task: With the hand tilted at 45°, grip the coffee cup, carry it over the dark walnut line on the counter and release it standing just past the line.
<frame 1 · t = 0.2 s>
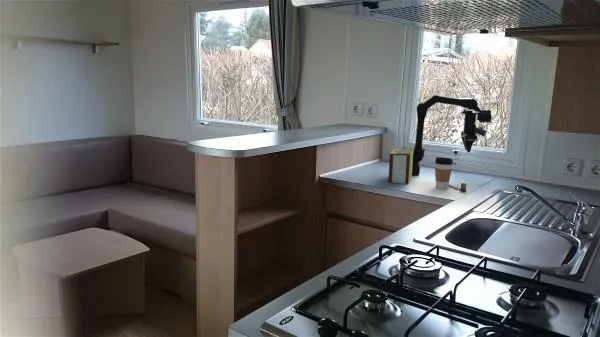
hand: (467, 151, 250), 15 cm above the worktop, tool pointing down, fingers open, 9 cm apart
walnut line: (452, 187, 229), on the worktop
coffee cup: (441, 188, 227), on the worktop
protein box: (400, 181, 243), on the worktop
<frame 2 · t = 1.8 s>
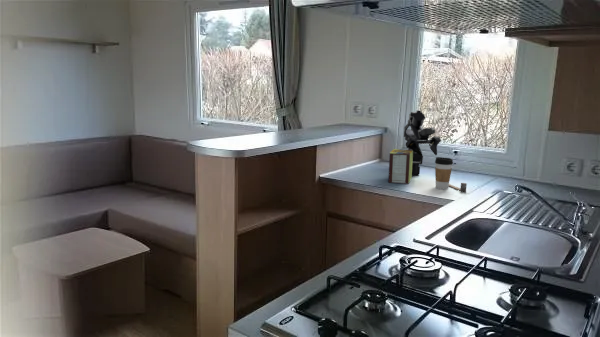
hand: (429, 155, 240), 14 cm above the worktop, tool tilted 45°, fingers open, 9 cm apart
protein box: (400, 180, 243), on the worktop, touching gripper
everything else where it was.
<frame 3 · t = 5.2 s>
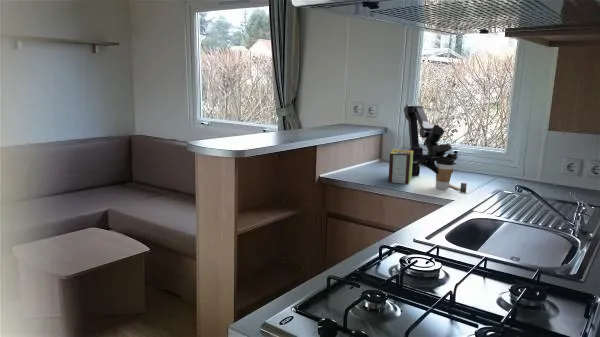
hand: (444, 173, 224), 8 cm above the worktop, tool tilted 45°, fingers closed on coffee cup, 8 cm apart
coffee cup: (441, 188, 227), on the worktop, touching gripper
protein box: (400, 181, 243), on the worktop
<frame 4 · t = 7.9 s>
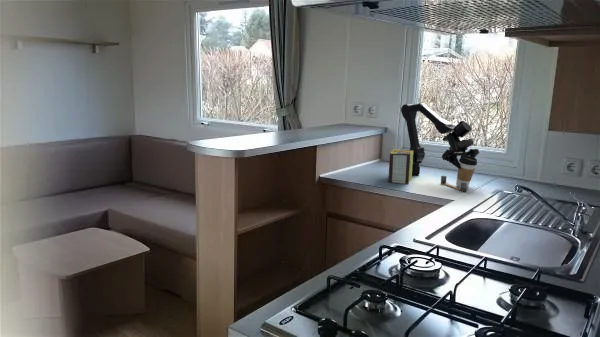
hand: (467, 168, 227), 10 cm above the worktop, tool tilted 45°, fingers closed on coffee cup, 8 cm apart
coffee cup: (462, 185, 231), on the worktop, touching gripper
everything else where it was.
when the fingers open (9 cm above the worktop, at t = 8.6 s): coffee cup stays where it is, on the worktop.
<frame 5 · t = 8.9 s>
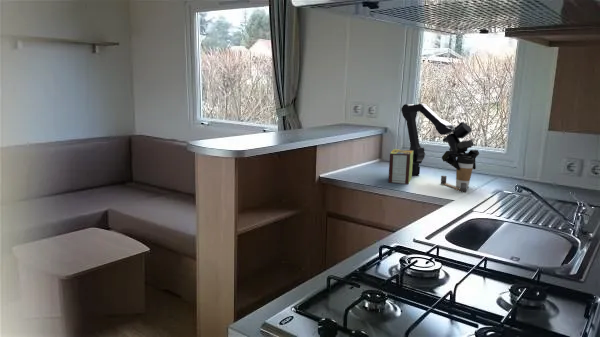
hand: (467, 169, 227), 9 cm above the worktop, tool tilted 45°, fingers open, 9 cm apart
coffee cup: (462, 186, 231), on the worktop, touching gripper
everything else where it was.
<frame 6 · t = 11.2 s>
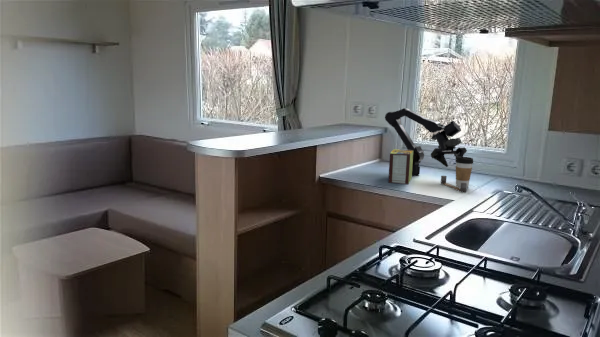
hand: (454, 166, 236), 9 cm above the worktop, tool tilted 45°, fingers open, 9 cm apart
coffee cup: (462, 187, 231), on the worktop
everything else where it was.
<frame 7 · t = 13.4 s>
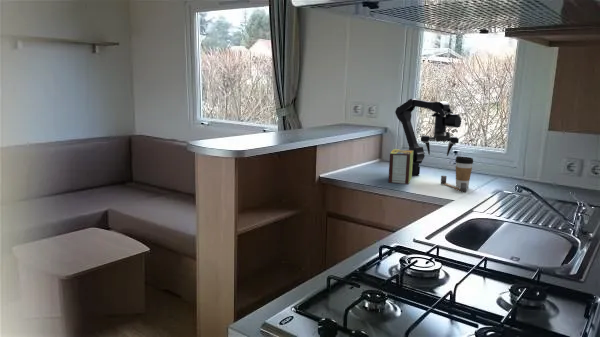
hand: (438, 155, 244), 13 cm above the worktop, tool pointing down, fingers open, 9 cm apart
nothing on the worktop moved.
at the end: coffee cup inside the target area (1.7 cm from its centre), on the worktop; coffee cup tilted 0°; the gripper is holding nothing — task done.
